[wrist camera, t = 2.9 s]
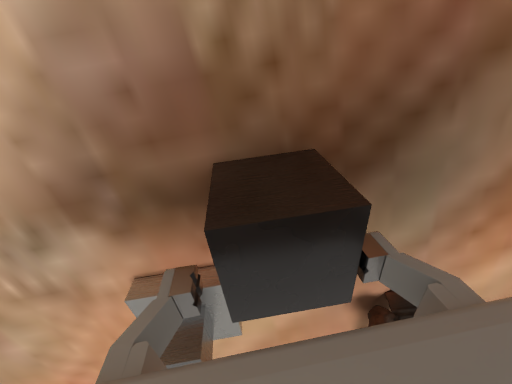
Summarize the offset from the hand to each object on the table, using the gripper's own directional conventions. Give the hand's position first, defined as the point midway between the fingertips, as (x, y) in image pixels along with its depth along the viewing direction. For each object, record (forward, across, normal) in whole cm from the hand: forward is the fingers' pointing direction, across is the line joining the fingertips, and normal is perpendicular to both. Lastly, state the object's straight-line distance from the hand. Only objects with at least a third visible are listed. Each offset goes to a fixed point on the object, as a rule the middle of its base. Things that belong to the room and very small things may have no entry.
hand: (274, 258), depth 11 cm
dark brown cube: (+5, -1, 0) cm, 5 cm away
